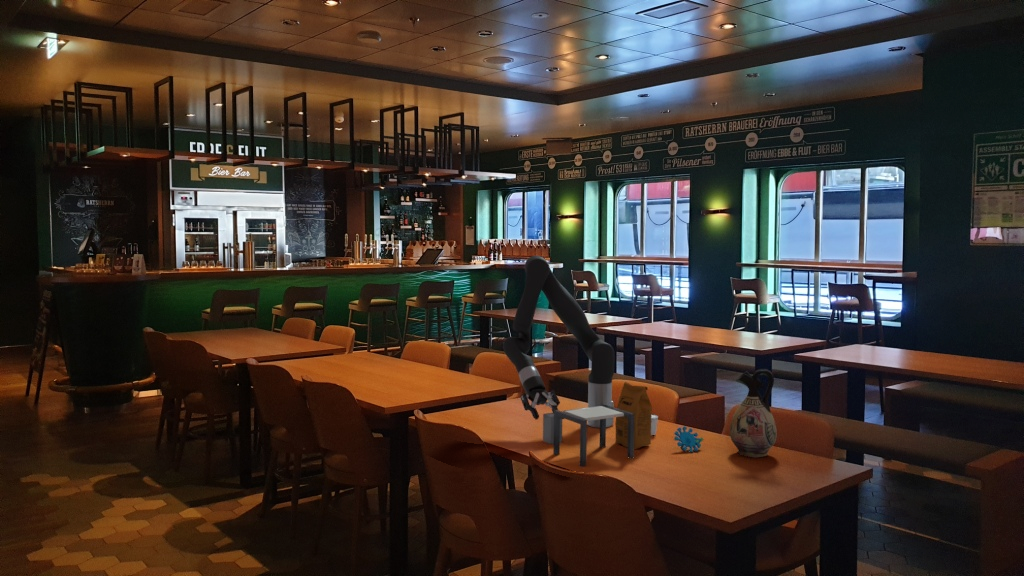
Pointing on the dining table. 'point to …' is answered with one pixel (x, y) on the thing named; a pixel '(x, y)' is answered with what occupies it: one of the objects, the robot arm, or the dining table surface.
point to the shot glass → (653, 424)
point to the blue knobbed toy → (688, 439)
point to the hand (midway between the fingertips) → (547, 417)
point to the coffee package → (639, 404)
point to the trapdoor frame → (583, 432)
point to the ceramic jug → (754, 418)
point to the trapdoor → (594, 413)
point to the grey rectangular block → (550, 428)
